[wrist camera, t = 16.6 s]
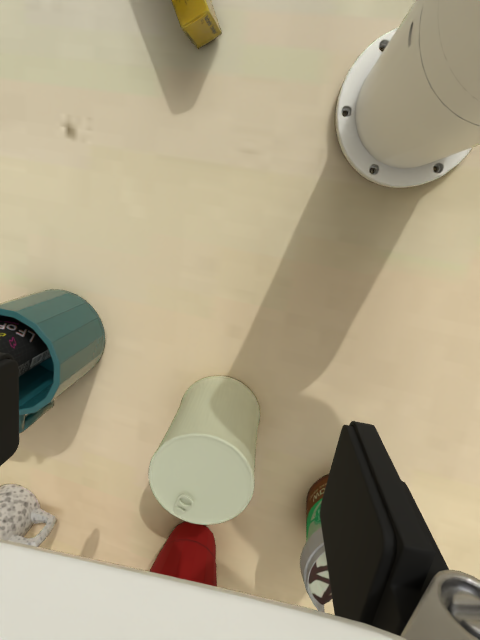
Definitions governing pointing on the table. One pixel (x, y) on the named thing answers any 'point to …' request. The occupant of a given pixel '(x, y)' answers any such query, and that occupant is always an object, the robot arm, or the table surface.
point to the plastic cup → (188, 554)
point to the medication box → (197, 20)
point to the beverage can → (22, 344)
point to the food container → (315, 549)
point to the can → (208, 453)
